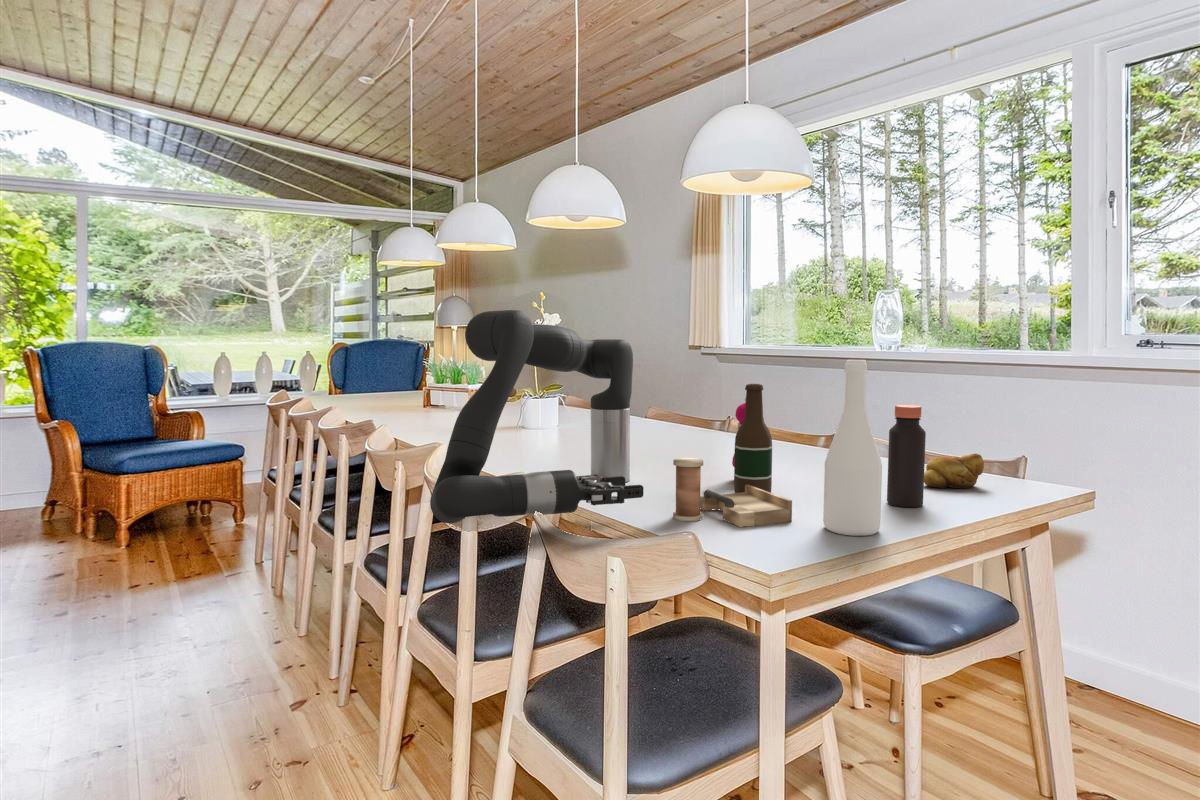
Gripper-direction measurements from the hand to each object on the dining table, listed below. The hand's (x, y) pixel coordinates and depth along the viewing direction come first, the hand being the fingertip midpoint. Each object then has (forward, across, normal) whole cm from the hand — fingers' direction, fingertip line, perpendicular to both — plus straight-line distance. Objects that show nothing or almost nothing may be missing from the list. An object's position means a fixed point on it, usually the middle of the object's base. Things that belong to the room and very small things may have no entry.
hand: (633, 486), depth 134 cm
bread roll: (+80, +5, +7) cm, 80 cm away
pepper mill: (+40, +26, +7) cm, 48 cm away
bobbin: (+11, 0, +7) cm, 13 cm away
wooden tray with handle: (+22, -2, +7) cm, 23 cm away
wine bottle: (+34, -18, +7) cm, 39 cm away
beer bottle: (+32, +11, +7) cm, 35 cm away
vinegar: (+57, -6, +7) cm, 58 cm away
